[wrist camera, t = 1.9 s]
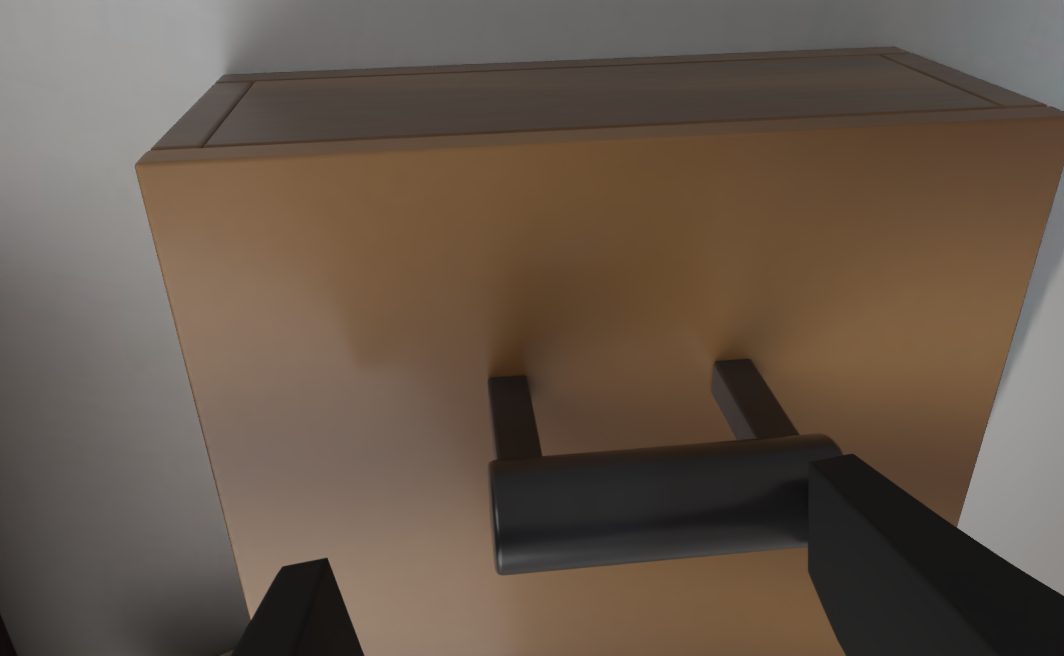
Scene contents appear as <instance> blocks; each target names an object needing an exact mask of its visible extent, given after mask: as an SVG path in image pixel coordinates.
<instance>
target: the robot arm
mask: <svg viewBox="0 0 1064 656" xmlns="http://www.w3.org/2000/svg"><path fill="white" fill-rule="evenodd" d="M808 517H809V538H808V573H809V575H810V578H811V580H812V583H813V585H814V587H815V590H816V592H817V595H818V597H819V599H820V602H821V604H822V607H823V609H824V611H825V613H826V616H827V618H828V620H829V622H830V625H831V627H832V629H833V632H834V634H835V636H836V638H837V640H838V642H839V644H840V646H841V648H842V649H843V651H844V653H845V655H846V656H1064V596H1063V595H1061V594H1060V593H1058V592H1056V591H1055V590H1053V589H1051V588H1050V587H1048V586H1046V585H1045V584H1043V583H1041V582H1040V581H1038V580H1036V579H1035V578H1033V577H1031V576H1030V575H1028V574H1026V573H1025V572H1023V571H1021V570H1020V569H1019V568H1017V567H1015V566H1014V565H1012V564H1010V563H1009V562H1008V561H1006V560H1004V559H1003V558H1001V557H1000V556H998V555H996V554H995V553H994V552H992V551H991V550H989V549H988V548H986V547H985V546H983V545H982V544H980V543H979V542H977V541H976V540H974V539H973V538H971V537H970V536H968V535H967V534H965V533H964V532H962V531H961V530H960V529H958V528H957V527H955V526H954V525H952V524H951V523H949V522H948V521H947V520H945V519H944V518H942V517H941V516H939V515H938V514H937V513H935V512H934V511H932V510H931V509H930V508H928V507H927V506H925V505H924V504H923V503H921V502H920V501H918V500H917V499H915V498H914V497H913V496H911V495H910V494H909V493H907V492H906V491H904V490H903V489H902V488H900V487H899V486H897V485H896V484H895V483H893V482H892V481H891V480H889V479H888V478H886V477H885V476H884V475H882V474H881V473H879V472H878V471H877V470H875V469H874V468H872V467H871V466H870V465H868V464H867V463H865V462H864V461H863V460H861V459H860V458H858V457H857V456H856V455H854V454H853V453H852V454H847V455H842V456H837V457H832V458H827V459H822V460H817V461H812V462H809V478H808ZM230 656H364V653H363V651H362V648H361V645H360V643H359V640H358V637H357V635H356V632H355V629H354V627H353V624H352V621H351V619H350V616H349V613H348V611H347V608H346V605H345V603H344V600H343V597H342V595H341V592H340V589H339V587H338V584H337V582H336V579H335V576H334V574H333V571H332V568H331V566H330V563H329V560H328V558H322V559H317V560H312V561H307V562H302V563H297V564H292V565H287V566H283V567H282V568H281V569H280V571H279V572H278V573H277V575H276V576H275V578H274V580H273V582H272V584H271V585H270V587H269V589H268V591H267V592H266V594H265V596H264V598H263V600H262V601H261V603H260V605H259V607H258V608H257V610H256V612H255V614H254V616H253V617H252V619H251V621H250V623H249V624H248V626H247V628H246V630H245V631H244V633H243V635H242V637H241V638H240V640H239V642H238V643H237V645H236V647H235V649H234V650H233V652H232V654H231V655H230Z"/></svg>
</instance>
